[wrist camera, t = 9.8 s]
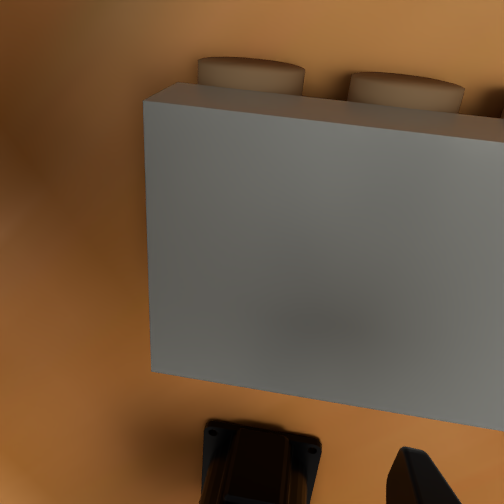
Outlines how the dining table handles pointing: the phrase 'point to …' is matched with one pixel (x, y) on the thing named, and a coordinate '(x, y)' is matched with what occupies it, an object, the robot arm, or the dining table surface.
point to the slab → (328, 250)
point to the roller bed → (361, 87)
